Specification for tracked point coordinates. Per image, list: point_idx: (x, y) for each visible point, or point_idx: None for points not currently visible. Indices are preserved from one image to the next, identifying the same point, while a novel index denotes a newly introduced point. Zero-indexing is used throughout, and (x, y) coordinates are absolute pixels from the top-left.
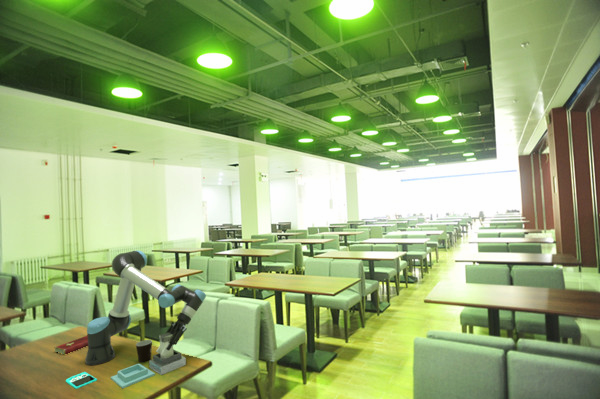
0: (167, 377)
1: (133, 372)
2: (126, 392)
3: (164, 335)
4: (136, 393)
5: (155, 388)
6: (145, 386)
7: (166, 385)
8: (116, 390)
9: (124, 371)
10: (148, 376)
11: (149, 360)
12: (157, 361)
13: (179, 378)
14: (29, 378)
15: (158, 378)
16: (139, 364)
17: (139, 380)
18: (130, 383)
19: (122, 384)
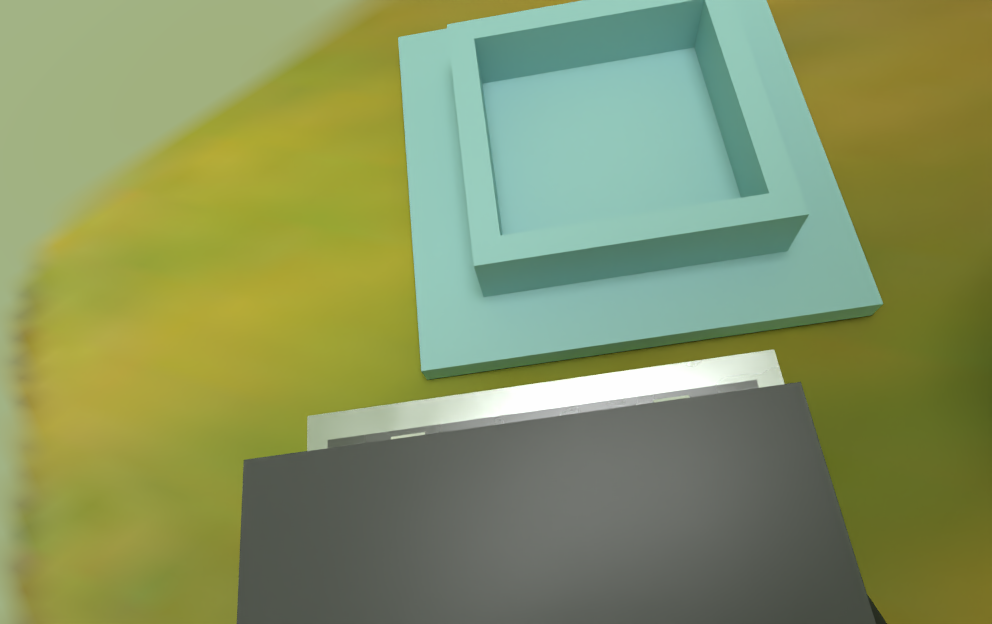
0: (209, 488)
1: (684, 170)
2: (290, 71)
3: (504, 619)
4: (182, 133)
5: (93, 292)
6: (238, 224)
7: (32, 405)
8: (416, 12)
9: (713, 58)
10: (417, 292)
11: (769, 355)
12: None
13: (26, 607)
14: None
15: (291, 387)
16: (754, 213)
17: (412, 194)
18: (404, 105)
19: (446, 42)
